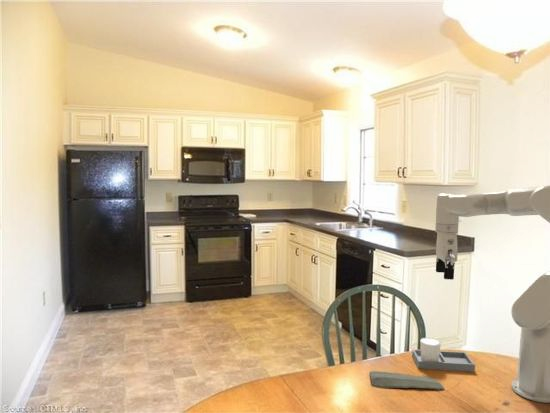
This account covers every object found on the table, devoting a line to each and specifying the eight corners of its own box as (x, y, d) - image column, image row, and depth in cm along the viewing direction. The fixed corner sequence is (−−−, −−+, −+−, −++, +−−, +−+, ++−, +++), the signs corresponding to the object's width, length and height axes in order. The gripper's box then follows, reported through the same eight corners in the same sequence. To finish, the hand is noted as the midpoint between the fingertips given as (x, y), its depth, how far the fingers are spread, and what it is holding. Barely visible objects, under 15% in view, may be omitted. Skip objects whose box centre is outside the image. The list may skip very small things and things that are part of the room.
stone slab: (368, 377, 141) (372, 388, 131) (368, 368, 141) (372, 379, 131) (436, 381, 139) (445, 393, 129) (436, 373, 139) (445, 384, 129)
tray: (412, 355, 153) (412, 349, 153) (464, 358, 151) (465, 352, 151) (418, 368, 144) (418, 361, 143) (474, 371, 142) (475, 364, 142)
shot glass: (442, 359, 148) (442, 340, 148) (437, 366, 143) (438, 347, 142) (422, 354, 152) (423, 335, 152) (417, 361, 147) (417, 342, 146)
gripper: (466, 232, 140) (463, 282, 141) (449, 225, 157) (447, 270, 158) (443, 231, 140) (440, 281, 142) (429, 224, 158) (427, 269, 159)
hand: (444, 275), depth 150 cm, fingers open, 9 cm apart
